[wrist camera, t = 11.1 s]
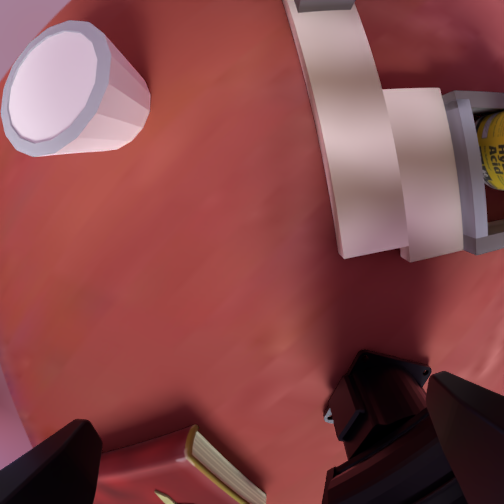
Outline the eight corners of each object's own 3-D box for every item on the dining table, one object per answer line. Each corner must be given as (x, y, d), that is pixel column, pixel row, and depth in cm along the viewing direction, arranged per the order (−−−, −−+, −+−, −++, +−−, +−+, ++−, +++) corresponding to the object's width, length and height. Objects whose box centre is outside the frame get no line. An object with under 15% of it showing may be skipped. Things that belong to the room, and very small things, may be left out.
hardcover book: (58, 459, 26) (42, 482, 22) (195, 419, 23) (185, 456, 19) (127, 517, 28) (118, 540, 24) (271, 491, 25) (271, 525, 21)
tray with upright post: (541, 223, 18) (663, 261, 5) (340, 269, 19) (441, 404, 6) (489, -2, 14) (582, -61, 1) (276, -18, 15) (281, -169, 3)
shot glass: (104, 46, 17) (47, 7, 10) (182, 85, 17) (140, 42, 11) (53, 132, 18) (-17, 123, 11) (122, 180, 19) (58, 184, 12)
